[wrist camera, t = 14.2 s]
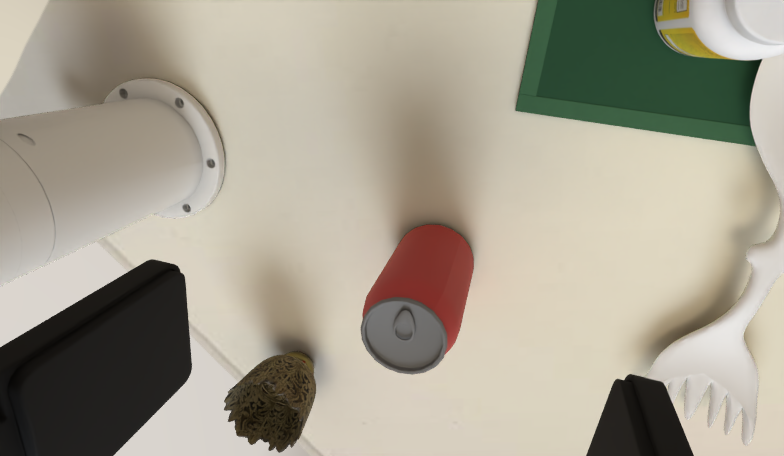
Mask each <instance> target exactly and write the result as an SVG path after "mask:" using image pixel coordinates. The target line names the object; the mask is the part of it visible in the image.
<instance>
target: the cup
mask: <svg viewBox="0 0 784 456" xmlns="http://www.w3.org/2000/svg"><path fill="white" fill-rule="evenodd" d="M313 374H314V365H313V362H312V361H311V359H310V358H309V357H308V356H307V355H306V354H304V353H302V352H298V351H292V352H289V353H287V354H285V355H277V356H273V357H270V358H268V359H266V360H264V361H263V362H261V363H260V364H259V365H257V366H256V367H255V368H254V369H253V370H251V371H250V372H249V373H248V374H247V375H246V376H245V377H244V378H243V379H242V380H241V381H240V382H238V383H237V384H236V385H235V386H234V387H233V388H232V389H230V391H229V392H228V393H229V394H228V396H227V397H226V399H225V401H224V402H225V403H226V406H225V408H224V410H226V411H227V410H232V411H231V413H230V415H229V419H228V422H231V421H234V420H235V430H236V434H237V436H239V437H245V438H248V442H249V443H250V444H251V445H253V444H255V443H256V442H257V441H258V440H259V439H261V440H262V439H263V441H264V442H267V441H268V442H269V444H270V446H269V451H271V450H273V449H274V448H275V447H276V449H277V451H278V452H282V451H284V450H285V449H286V448H287V447H288V445H289V444H290V445H291V447H293V446H294V444H295V443H296V441H297V439H299V438H300V436H301V433H302V430H303V428H304V426H305V423H306V421H307V418H308V416H309V413H310V411H311V408H312V405H313V402H314V399H315V394H316V383H315V379H314V376H313Z"/></svg>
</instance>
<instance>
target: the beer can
mask: <svg viewBox="0 0 784 456" xmlns="http://www.w3.org/2000/svg"><path fill="white" fill-rule="evenodd" d="M473 269H474V258H473V255H472V252H471V249H470V246H469V245H468V244H467V242H466V241H465V240H464V238H463V237H462V236H461V235H459V234H458V233H456V232H455V231H453V230H452V229H450V228H447V227H444V226H441V225H424V226H420V227H417V228H414V229H413V230H411V231H410V232H408V233H407V234H406V235H405V236H404V237H403V239H402V240H401V242H400V243H399V245H398V246H397V248H396V249H395V251H394V253H393V254H392V256H391V258H390V259H389V261H388V262H387V264H386V266H385V267H384V269H383V271H382V272H381V274H380V275H379V277H378V279H377V280H376V282H375V284H374V285H373V287H372V288H371V290H370V292H369V293H368V295H367V297H366V301H365V305H364V309H363V321H362V325H361V335H362V340H363V343H364V345H365V347H366V349H367V351H368V352H369V353H370V355H371V356H372V357H373V358H374V359H375V360H376V361H377V362H378V363H380V364H381V365H383V366H384V367H386V368H388V369H390V370H393V371H395V372H398V373H404V374H418V373H424V372H426V371H428V370H430V369H432V368H434V367H436V366H437V365H438V364H439V362H440V361H441V360H442V359H443V358H444V355H445V354H446V353H447V352H448V351H449V350H450V349H451V347H452V346H453V345H454V343H455V341H456V339H457V336H458V333H459V331H460V327H461V322H462V318H463V313H464V309H465V305H466V300H467V296H468V291H469V287H470V282H471V278H472V273H473Z"/></svg>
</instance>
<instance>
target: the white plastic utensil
mask: <svg viewBox="0 0 784 456" xmlns="http://www.w3.org/2000/svg"><path fill="white" fill-rule="evenodd" d="M750 124H751V130H752V134H753V138H754V141H755V144H756V146H757V149H758V151H759V154H760V156H761V158H762V161H763V163H764V165H765V167H766V169H767V171H768V173H769V175H770V177H771V179H772V181H773V183H774V185H775V187H776V189H777V191H778V195H779V200H780V216H779V221H778V224H777V228H776V230H775V232H774V234H773V235H772V237H771V238H770V239H769V240H768V241H766V242H763V243H759V244H755V245H752V246H751V247H749V249H748V250H747V253H746V259H747V260H748V261H749V262H750V263H751V265H752V272H751V275H750V278H749V281H748V283H747V285H746V287H745V290H744V292H743V293H742V295H741V296H740V298H739V299H738V301H737V302H736V303H735V304H734V305H733V307H732V308H731V309H730V310H729V311H727V312H726V313H725V314H724V315H723V316H721V317H720V318H718V319H717V320H715V321H713V322H712V323H710V324H708V325H706V326H704V327H702V328H700V329H698V330H696V331H694V332H692V333H689V334H687V335H685V336H683V337H681V338H680V339H678V340H676V341H675V342H673V343H672V344H670V345H669V346H668V347H667V348H666V349H664V350H663V351H662V352H661V353H660V355H659V356H658V357H657V358H656V360H655V361H654V363H653V364H652V366H651V368H650V369H649V371H648V373H647V374H646V376H645V378H649V379H653V380H657V381H661V382H663V383H664V385H665V387H666V386H667V385H668V390H667V391H668V394H669V396H670V399H671V401H672V404H673V403H674V401H675V399H676V397H677V394H678V392H679V390H680V388H681V386H682V384H683V383H684V381H685V380H686V391H685V403H684V413H685V418H686V419H687V420H688V419H690V418H691V417H692V416H693V415H694V413H695V411H696V409H697V407H698V405H699V403H700V401H701V399H702V397H703V395H704V393H705V391H706V389H707V387H708V386H709V385H710V384H711V390H710V401H709V410H708V427H709V428H710V427H712V425H713V423H714V421H715V419H716V417H717V414H718V412H719V409H720V407H721V404H722V402H723V400H724V398H725V396H726V412H725V423H724V431H725V435H727V434H728V433H729V432H730V431H731V429H732V427H733V425H734V423H735V420H736V418H737V416H738V414H739V412H740V410H741V409H742V442H743V444H744V445H748V444H749V443H750V442H751V440H752V438H753V434H754V430H755V423H756V414H757V398H758V387H759V375H758V369H757V366H756V363H755V361H754V359H753V357H752V355H751V353H750V351H749V349H748V347H747V345H746V343H745V340H744V331H745V329H746V327H747V325H748V324H749V322H750V321H751V319H752V318H753V317H754V315H755V314H756V312H757V311H758V309H759V308H760V306H761V305H762V303H763V301H764V300H765V298H766V296H767V294H768V293H769V291H770V289H771V287H772V286H773V284H774V283H775V281H776V280H777V279H778V278H779V277H780V276H781V275H782V274H783V273H784V53H783V54H780V55H777V56H774V57H770V58H765V59H762V62H761V64H760V67H759V69H758V72H757V75H756V79H755V82H754V86H753V90H752V95H751V101H750Z"/></svg>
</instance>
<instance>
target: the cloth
mask: <svg viewBox="0 0 784 456" xmlns="http://www.w3.org/2000/svg"><path fill="white" fill-rule="evenodd" d="M654 5H655V0H538V5H537V9H536V14H535V19H534V24H533V29H532V33H531V38H530V43H529V48H528V52H527V57H526V62H525V67H524V72H523V76H522V81H521V86H520V91H519V96H518V100H517V105H516V111H520V112H527V113H533V114H540V115H547V116H554V117H561V118H567V119H574V120H581V121H588V122H595V123H601V124H608V125H615V126H622V127H629V128H635V129H642V130H649V131H656V132H663V133H669V134H676V135H683V136H690V137H697V138H703V139H710V140H717V141H724V142H731V143H737V144H744V145H751V146H756V144H755V141H754V138H753V134H752V130H751V124H750V101H751V95H752V90H753V86H754V82H755V79H756V75H757V72H758V69H759V67H760V64H761V62H762V59H759V60H749V61H745V60H731V59H717V58H704V57H692V56H687V55H684V54H681V53H678V52H676V51H674V50H673V49H671V48H670V47H669V46H667V45H666V44H665V43H664V41H663V40H662V39H661V37H660V36H659V34H658V32H657V29H656V26H655V22H654Z"/></svg>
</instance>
